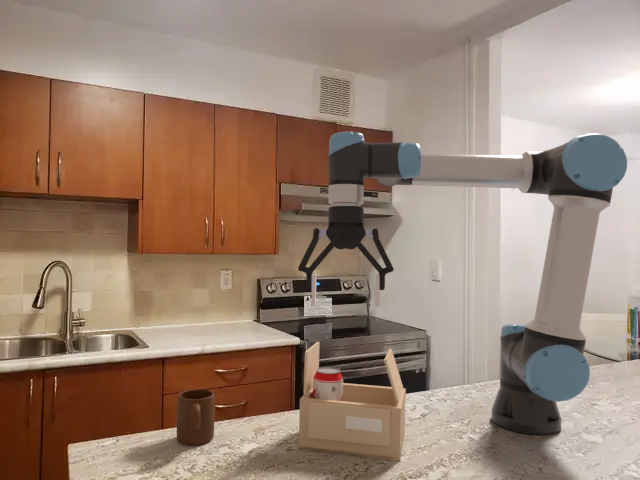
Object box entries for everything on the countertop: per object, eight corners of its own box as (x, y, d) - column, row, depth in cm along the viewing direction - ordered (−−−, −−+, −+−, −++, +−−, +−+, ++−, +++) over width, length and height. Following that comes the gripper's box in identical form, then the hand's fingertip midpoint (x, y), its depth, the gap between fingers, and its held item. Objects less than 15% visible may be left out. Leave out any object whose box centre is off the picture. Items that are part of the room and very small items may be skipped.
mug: (215, 454, 100) (216, 405, 100) (174, 457, 98) (175, 407, 98) (213, 431, 111) (214, 388, 111) (177, 433, 110) (177, 389, 110)
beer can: (344, 443, 109) (347, 368, 109) (335, 454, 103) (338, 375, 103) (316, 439, 111) (319, 365, 111) (306, 449, 105) (308, 371, 105)
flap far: (305, 394, 104) (303, 393, 104) (318, 379, 115) (316, 379, 115) (307, 352, 104) (304, 351, 104) (319, 341, 115) (317, 341, 115)
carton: (404, 433, 112) (405, 387, 112) (399, 462, 98) (400, 409, 98) (315, 424, 117) (316, 380, 117) (298, 450, 102) (299, 400, 102)
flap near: (400, 387, 111) (402, 386, 111) (396, 402, 100) (399, 402, 100) (389, 348, 111) (391, 348, 111) (383, 360, 100) (386, 359, 100)
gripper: (403, 207, 113) (402, 303, 113) (290, 207, 115) (290, 302, 115) (406, 204, 105) (405, 308, 105) (285, 204, 107) (285, 306, 107)
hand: (345, 305), depth 110 cm, fingers open, 13 cm apart
